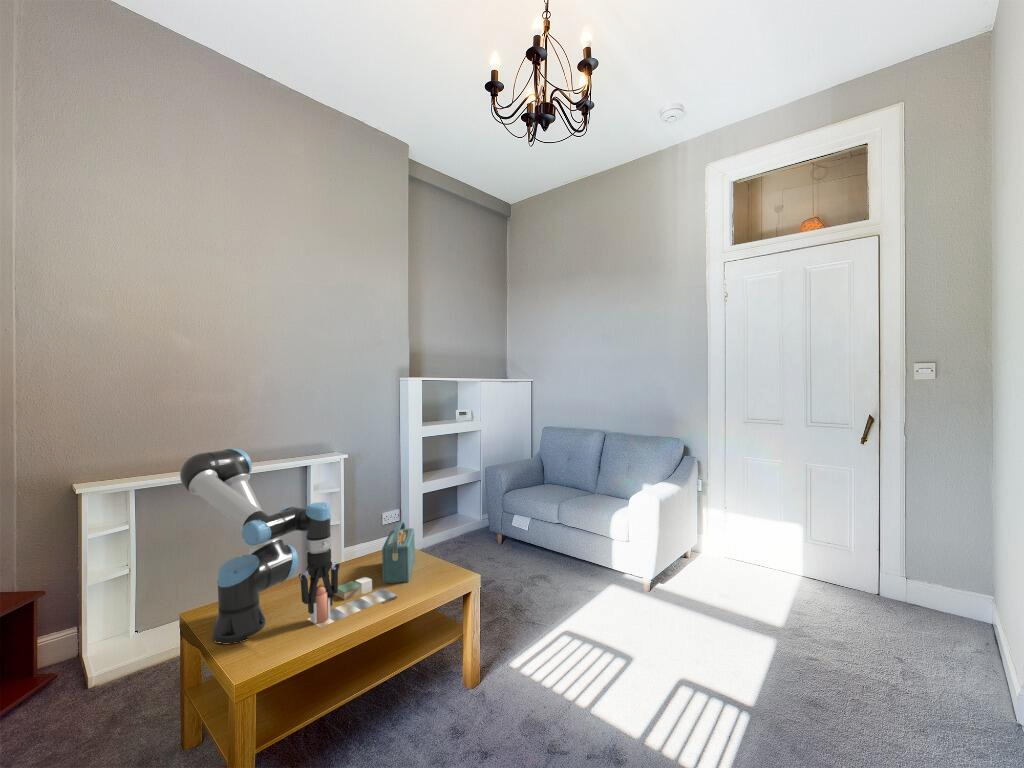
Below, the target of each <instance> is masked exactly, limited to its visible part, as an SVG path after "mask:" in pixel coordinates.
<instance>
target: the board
mask: <svg viewBox="0 0 1024 768" xmlns="http://www.w3.org/2000/svg"><path fill="white" fill-rule="evenodd" d="M396 599H398V594H395V593H394V592H391V591H389V590H387V589H385V588H381V589H379V590H376V591H372V592H370V593H367V595H364V596H361V597H359V598H356V599H353V600H351V601H349V602H346V603H344V604H342V605H339V606H336V607H334V608H330V617H329V618H328V620H327V621H325V622H323V623H313V622H312V621H311V617H309V618H307V620H308V621H309V622H310V623H312V624H313V625H315V626H317V628H322V627H325V626H328V625H329V624H333V623H334V622H337V621H339V620H342V619H344V618H347V617H349V616H351V615H353V614H356V613H358V612H360V611H363V610H365V609H367V608H369V607H372V606H375V605H376V604H382V605H384V604H386V603H389V602H391V601H393V600H396Z"/></svg>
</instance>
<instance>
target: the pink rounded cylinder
mask: <svg viewBox="0 0 1024 768" xmlns="http://www.w3.org/2000/svg"><path fill="white" fill-rule="evenodd" d="M314 602H315V603H317V623H323V622H325V621H327V620H328V607H327V591H326V589H325V587H324V585H322V584H321V585H317V588H316V594H315V600H314Z"/></svg>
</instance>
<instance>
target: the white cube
mask: <svg viewBox="0 0 1024 768" xmlns="http://www.w3.org/2000/svg"><path fill="white" fill-rule="evenodd" d="M354 583H356V584H358V585H361V590H362V593H361V594H362V595H365V594H369V593H371V592H373V579H372V578H370V577H366V576H364V577H361V578H358V579H356V580H355V581H354Z"/></svg>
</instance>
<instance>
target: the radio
mask: <svg viewBox="0 0 1024 768" xmlns="http://www.w3.org/2000/svg"><path fill="white" fill-rule="evenodd" d="M415 541H416V540H415V528H413V527H412V528H406V525H405V522H404V521H399V522H397V524H396V526H395V528H393V529H391V530H390V532H389V533H388V536H387V538H386V539H385V541H384V543H383V546H382V548H381V552H382V553H381V556H382V583H383V584H385V585H386V584H398V583H400V584H401V583H409V582H410V580H411V575H412V572H413V567H414V565H415V564H414V563H415V561H416V551H415V549H416V547H415V546H416V545H415Z"/></svg>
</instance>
